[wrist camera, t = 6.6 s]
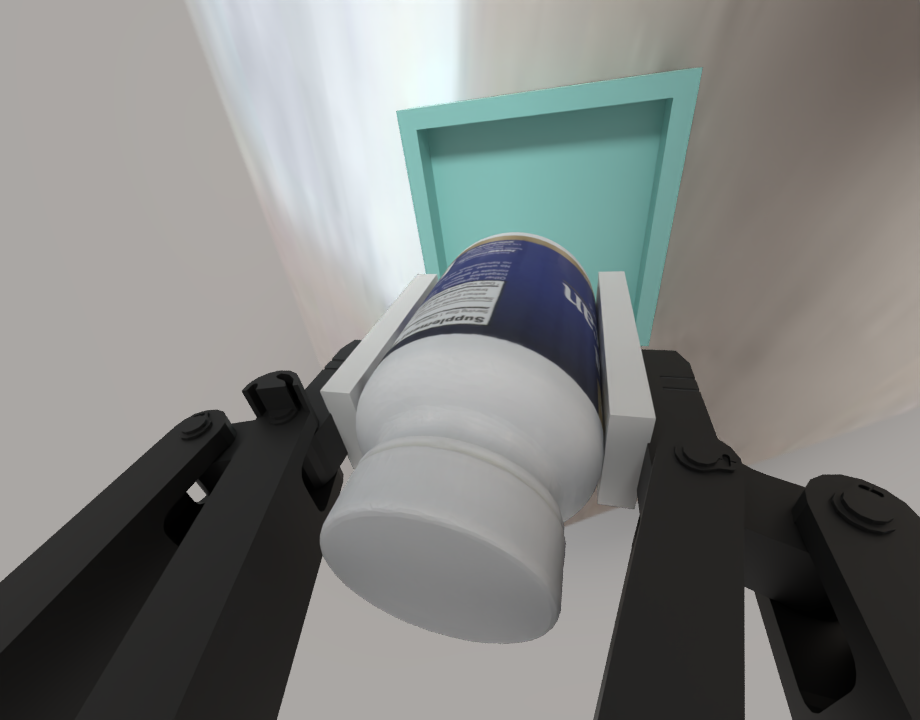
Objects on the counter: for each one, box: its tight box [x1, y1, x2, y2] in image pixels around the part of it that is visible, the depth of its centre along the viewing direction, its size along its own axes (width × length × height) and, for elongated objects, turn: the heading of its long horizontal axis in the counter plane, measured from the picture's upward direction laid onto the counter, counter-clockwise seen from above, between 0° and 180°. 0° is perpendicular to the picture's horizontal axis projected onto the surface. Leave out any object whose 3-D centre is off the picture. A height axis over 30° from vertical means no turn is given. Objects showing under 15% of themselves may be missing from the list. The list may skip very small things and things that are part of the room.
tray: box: [396, 67, 703, 346], centre depth 19 cm, size 12×12×2 cm
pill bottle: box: [320, 232, 604, 644], centre depth 10 cm, size 5×5×10 cm
